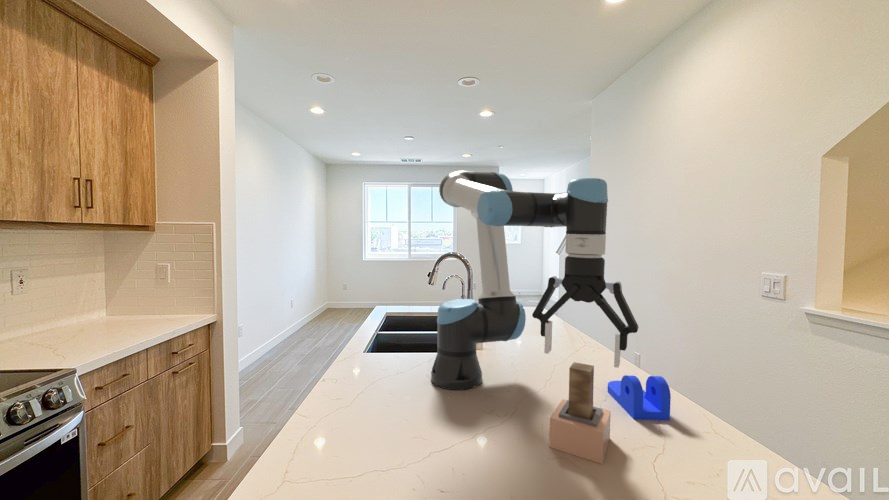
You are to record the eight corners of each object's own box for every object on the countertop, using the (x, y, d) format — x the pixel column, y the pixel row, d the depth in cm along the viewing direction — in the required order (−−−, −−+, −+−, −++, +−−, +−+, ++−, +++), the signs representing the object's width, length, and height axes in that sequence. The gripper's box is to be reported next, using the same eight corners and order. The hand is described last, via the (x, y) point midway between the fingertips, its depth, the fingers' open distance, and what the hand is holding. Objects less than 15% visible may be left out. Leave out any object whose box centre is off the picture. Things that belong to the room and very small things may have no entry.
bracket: (669, 421, 83) (671, 383, 83) (633, 419, 84) (634, 382, 83) (632, 388, 101) (633, 357, 101) (602, 387, 102) (603, 356, 101)
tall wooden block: (567, 434, 73) (569, 367, 73) (572, 426, 77) (573, 362, 76) (588, 441, 71) (590, 371, 70) (592, 431, 74) (593, 365, 74)
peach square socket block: (549, 446, 72) (549, 414, 72) (561, 424, 81) (562, 396, 81) (602, 463, 67) (603, 429, 67) (609, 438, 75) (610, 408, 75)
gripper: (519, 253, 76) (516, 351, 77) (655, 260, 63) (649, 378, 64) (531, 252, 82) (528, 342, 83) (656, 258, 69) (651, 365, 70)
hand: (580, 358), depth 74 cm, fingers open, 13 cm apart
